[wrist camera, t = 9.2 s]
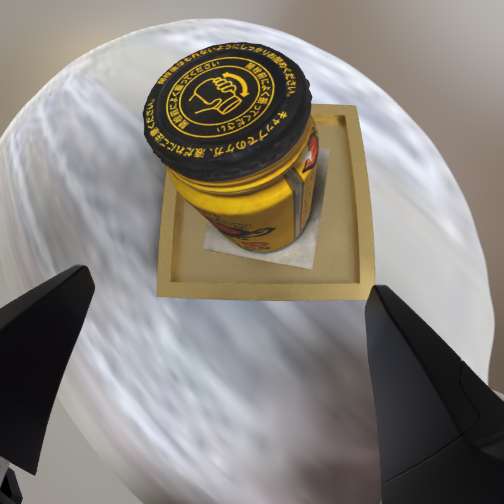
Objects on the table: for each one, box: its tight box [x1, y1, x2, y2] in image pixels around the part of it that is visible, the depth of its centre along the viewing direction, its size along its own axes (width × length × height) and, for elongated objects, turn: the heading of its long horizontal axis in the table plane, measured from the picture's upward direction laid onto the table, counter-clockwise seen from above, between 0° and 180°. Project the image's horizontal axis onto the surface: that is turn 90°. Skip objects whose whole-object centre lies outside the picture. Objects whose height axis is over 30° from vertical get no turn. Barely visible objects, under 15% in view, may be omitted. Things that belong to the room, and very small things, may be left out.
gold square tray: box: [156, 104, 375, 301], centre depth 21 cm, size 18×14×4 cm
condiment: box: [143, 42, 330, 269], centre depth 13 cm, size 7×8×12 cm
